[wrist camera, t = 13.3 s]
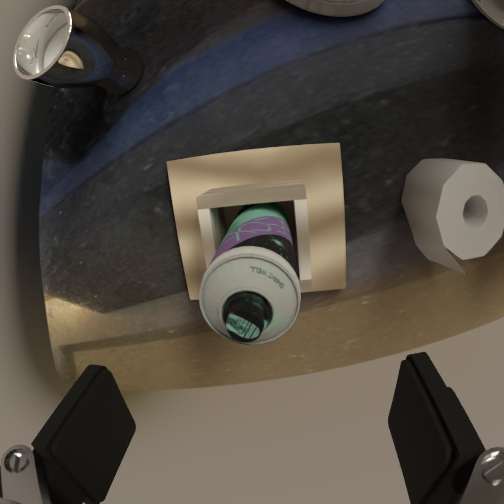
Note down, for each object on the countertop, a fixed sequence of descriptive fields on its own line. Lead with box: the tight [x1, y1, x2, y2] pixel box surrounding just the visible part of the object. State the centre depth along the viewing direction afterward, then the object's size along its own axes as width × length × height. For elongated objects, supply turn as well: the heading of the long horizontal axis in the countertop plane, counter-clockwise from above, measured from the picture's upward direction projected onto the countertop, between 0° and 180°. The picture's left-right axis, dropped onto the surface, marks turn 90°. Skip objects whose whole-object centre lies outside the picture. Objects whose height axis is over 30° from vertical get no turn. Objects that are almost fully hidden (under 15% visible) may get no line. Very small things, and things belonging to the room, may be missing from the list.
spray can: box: [199, 202, 301, 345], centre depth 23 cm, size 6×6×20 cm
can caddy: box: [167, 143, 346, 300], centre depth 30 cm, size 16×18×8 cm
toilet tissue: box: [401, 158, 504, 274], centre depth 28 cm, size 9×13×9 cm
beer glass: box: [13, 5, 143, 96], centre depth 22 cm, size 7×7×15 cm
